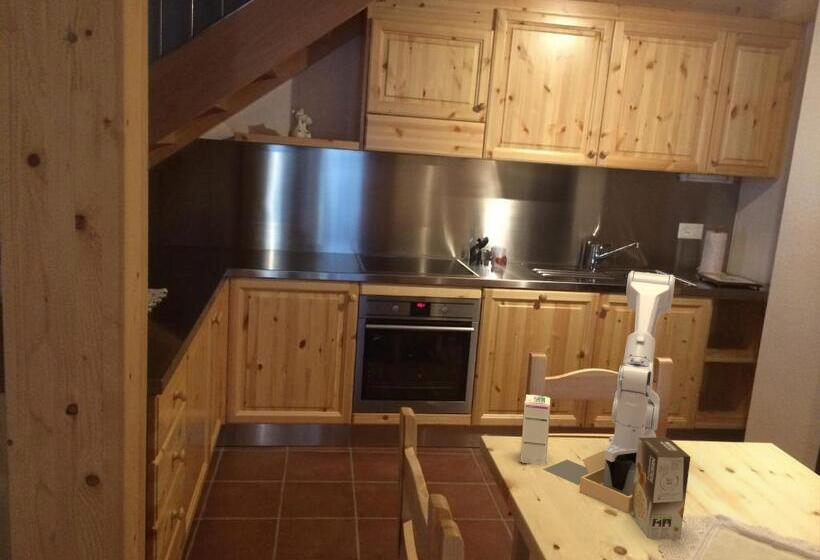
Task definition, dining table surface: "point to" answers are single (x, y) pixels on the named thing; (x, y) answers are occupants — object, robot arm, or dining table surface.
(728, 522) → the dining table surface
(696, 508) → the dining table surface
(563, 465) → the mat
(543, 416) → the syrup box
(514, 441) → the dining table surface
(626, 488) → the block
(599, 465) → the carton
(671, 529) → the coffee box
